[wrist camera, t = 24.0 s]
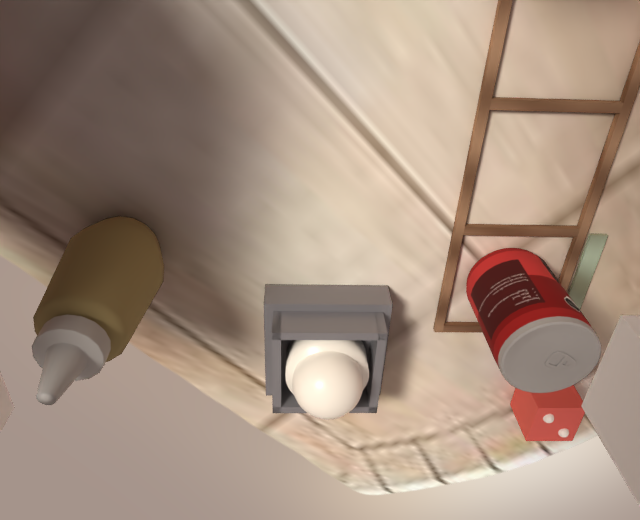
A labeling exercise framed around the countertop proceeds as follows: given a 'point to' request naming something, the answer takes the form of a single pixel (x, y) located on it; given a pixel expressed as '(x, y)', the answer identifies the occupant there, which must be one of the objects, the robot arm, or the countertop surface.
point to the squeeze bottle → (94, 302)
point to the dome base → (325, 332)
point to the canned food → (531, 322)
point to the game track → (594, 244)
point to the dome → (327, 375)
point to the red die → (548, 414)
